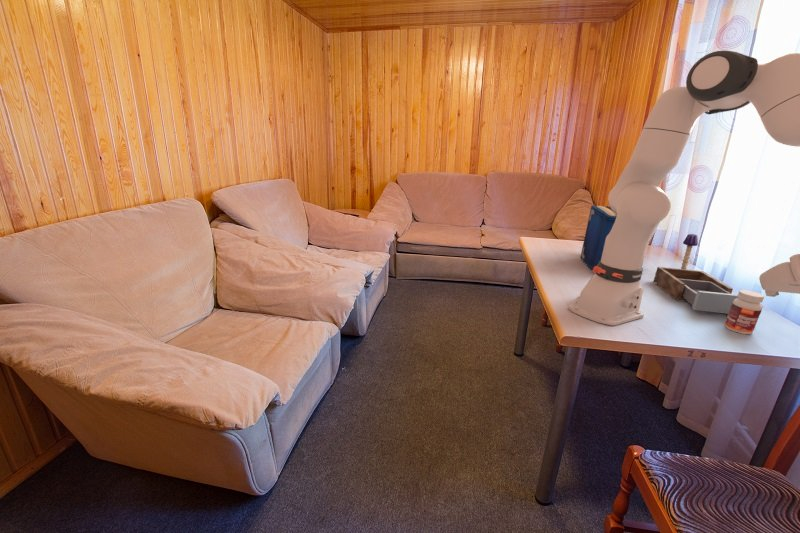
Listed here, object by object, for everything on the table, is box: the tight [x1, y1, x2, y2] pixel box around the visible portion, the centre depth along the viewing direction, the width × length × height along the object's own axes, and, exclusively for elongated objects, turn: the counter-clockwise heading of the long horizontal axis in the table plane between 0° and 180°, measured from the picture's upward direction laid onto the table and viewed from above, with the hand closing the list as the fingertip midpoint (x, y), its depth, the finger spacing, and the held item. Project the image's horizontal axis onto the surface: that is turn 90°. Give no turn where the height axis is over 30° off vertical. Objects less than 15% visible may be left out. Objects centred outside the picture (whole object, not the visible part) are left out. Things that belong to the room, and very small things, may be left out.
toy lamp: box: [680, 233, 699, 270], centre depth 146 cm, size 5×5×17 cm
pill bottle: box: [724, 289, 765, 335], centre depth 102 cm, size 6×6×11 cm
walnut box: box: [653, 266, 734, 302], centre depth 129 cm, size 18×15×6 cm
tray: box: [677, 278, 738, 314], centre depth 119 cm, size 19×15×6 cm
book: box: [579, 204, 617, 272], centre depth 149 cm, size 22×7×25 cm, turn 168°
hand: (791, 296), depth 87 cm, fingers open, 8 cm apart
